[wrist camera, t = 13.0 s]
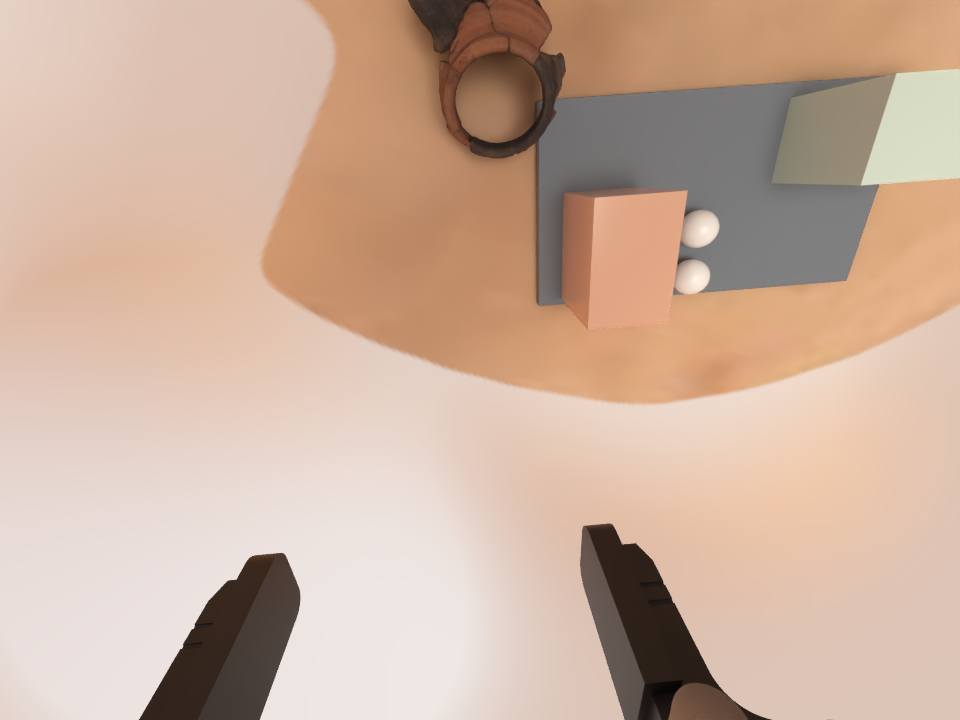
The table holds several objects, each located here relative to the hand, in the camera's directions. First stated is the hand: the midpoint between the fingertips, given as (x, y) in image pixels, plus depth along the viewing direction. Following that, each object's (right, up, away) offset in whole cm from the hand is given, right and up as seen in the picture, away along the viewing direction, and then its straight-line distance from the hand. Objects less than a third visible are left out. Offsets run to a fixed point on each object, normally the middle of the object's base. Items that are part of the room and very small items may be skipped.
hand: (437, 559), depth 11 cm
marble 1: (+19, +17, +23) cm, 35 cm away
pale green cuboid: (+30, +23, +21) cm, 43 cm away
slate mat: (+21, +19, +23) cm, 36 cm away
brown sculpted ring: (+1, +27, +19) cm, 33 cm away
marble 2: (+20, +13, +25) cm, 34 cm away
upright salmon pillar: (+11, +15, +23) cm, 30 cm away
